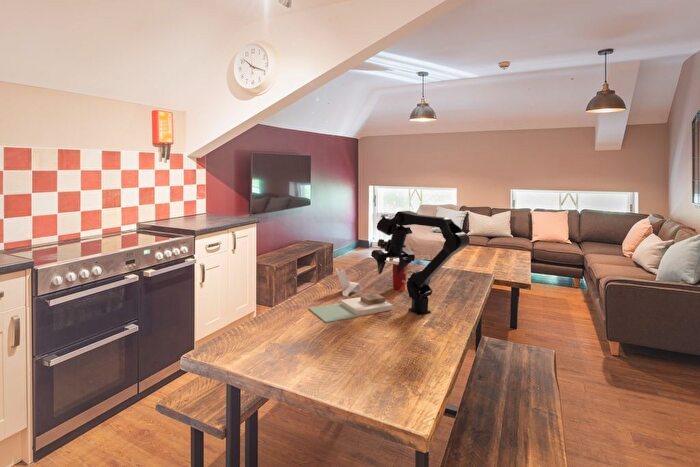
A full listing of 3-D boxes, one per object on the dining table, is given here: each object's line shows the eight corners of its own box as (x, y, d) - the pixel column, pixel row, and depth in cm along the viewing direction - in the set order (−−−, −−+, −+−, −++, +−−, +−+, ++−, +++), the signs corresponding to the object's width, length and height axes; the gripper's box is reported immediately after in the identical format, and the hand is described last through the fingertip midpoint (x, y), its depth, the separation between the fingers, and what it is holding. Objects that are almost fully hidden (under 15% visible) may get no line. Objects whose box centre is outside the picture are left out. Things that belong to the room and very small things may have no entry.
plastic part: (360, 291, 188) (361, 267, 186) (347, 296, 180) (347, 271, 178) (347, 288, 192) (348, 264, 190) (334, 293, 185) (334, 268, 183)
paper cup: (408, 291, 189) (409, 262, 187) (391, 291, 189) (392, 261, 187) (406, 286, 197) (407, 258, 194) (390, 286, 197) (391, 257, 194)
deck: (392, 309, 165) (392, 305, 164) (357, 316, 157) (357, 311, 157) (373, 299, 177) (373, 295, 177) (340, 304, 169) (340, 300, 169)
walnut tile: (377, 298, 173) (377, 293, 172) (384, 302, 167) (385, 297, 167) (360, 300, 169) (360, 296, 168) (368, 305, 164) (368, 300, 163)
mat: (359, 316, 156) (359, 315, 156) (325, 322, 150) (325, 321, 150) (339, 304, 170) (339, 303, 170) (308, 308, 163) (308, 308, 163)
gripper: (405, 232, 179) (396, 264, 184) (369, 231, 170) (360, 265, 175) (420, 243, 170) (410, 276, 175) (382, 243, 161) (373, 278, 166)
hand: (388, 273), depth 173 cm, fingers open, 9 cm apart
